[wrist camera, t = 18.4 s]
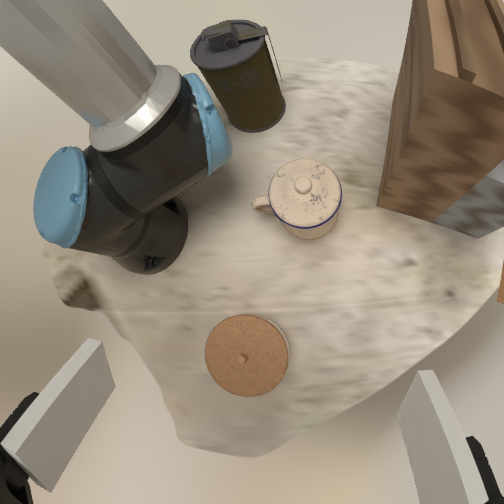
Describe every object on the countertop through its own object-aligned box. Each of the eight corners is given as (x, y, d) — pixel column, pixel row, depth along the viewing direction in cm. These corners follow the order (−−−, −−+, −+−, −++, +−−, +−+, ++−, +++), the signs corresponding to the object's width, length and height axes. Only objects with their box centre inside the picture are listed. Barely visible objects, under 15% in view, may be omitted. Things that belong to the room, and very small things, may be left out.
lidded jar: (255, 297, 45) (237, 296, 36) (309, 345, 42) (305, 358, 33) (210, 347, 45) (183, 358, 36) (261, 395, 42) (244, 417, 33)
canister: (230, 138, 50) (180, 65, 30) (226, 94, 51) (183, 20, 32) (292, 125, 47) (268, 40, 28) (283, 81, 49) (258, -1, 30)
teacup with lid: (336, 180, 44) (337, 144, 33) (342, 239, 43) (347, 219, 32) (259, 187, 47) (238, 155, 36) (261, 245, 46) (239, 227, 34)
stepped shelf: (376, 205, 42) (437, 59, 12) (392, 101, 43) (418, -50, 14) (478, 238, 37) (615, 165, 7) (482, 132, 39) (558, 16, 9)
